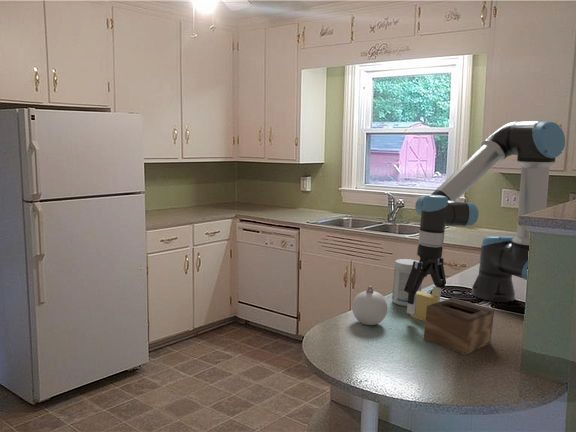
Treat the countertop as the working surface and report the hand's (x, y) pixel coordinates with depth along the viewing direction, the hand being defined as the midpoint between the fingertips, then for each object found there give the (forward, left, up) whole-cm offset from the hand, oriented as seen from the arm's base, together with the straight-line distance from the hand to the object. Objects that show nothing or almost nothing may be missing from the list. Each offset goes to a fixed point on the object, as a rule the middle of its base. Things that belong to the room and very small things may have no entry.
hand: (423, 310), depth 170 cm
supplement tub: (-9, -13, -3) cm, 16 cm away
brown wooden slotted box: (+9, +17, -3) cm, 19 cm away
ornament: (+19, -7, -3) cm, 20 cm away
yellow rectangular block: (0, 0, -3) cm, 3 cm away
